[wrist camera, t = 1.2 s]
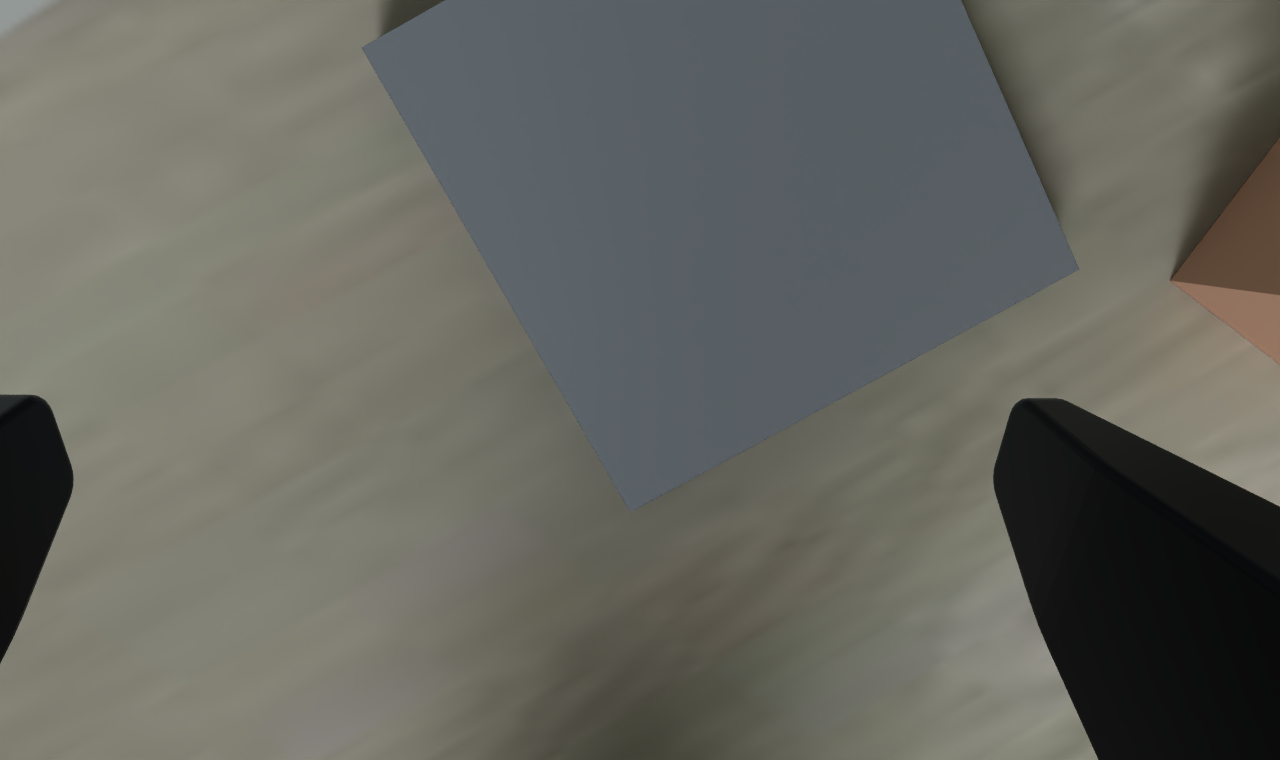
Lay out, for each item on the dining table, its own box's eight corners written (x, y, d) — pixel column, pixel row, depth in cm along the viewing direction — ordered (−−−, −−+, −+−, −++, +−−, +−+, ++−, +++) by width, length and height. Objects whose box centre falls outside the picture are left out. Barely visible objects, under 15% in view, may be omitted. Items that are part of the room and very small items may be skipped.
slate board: (1048, 264, 23) (1079, 269, 22) (627, 493, 24) (629, 512, 22) (838, -205, 21) (857, -236, 19) (376, 58, 21) (361, 47, 20)
